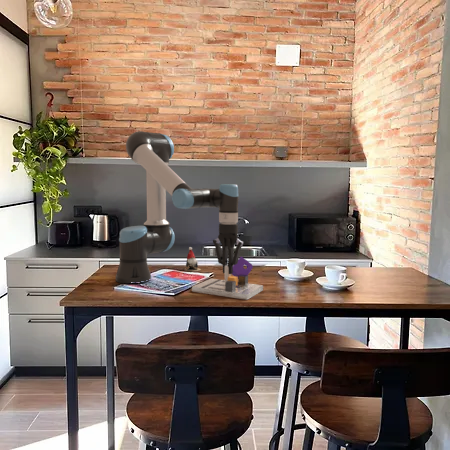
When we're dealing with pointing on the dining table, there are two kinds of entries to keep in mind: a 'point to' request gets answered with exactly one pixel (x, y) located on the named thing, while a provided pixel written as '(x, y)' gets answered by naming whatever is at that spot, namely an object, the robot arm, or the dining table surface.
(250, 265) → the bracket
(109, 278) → the dining table surface
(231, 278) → the handle
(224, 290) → the panel
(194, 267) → the figurine
